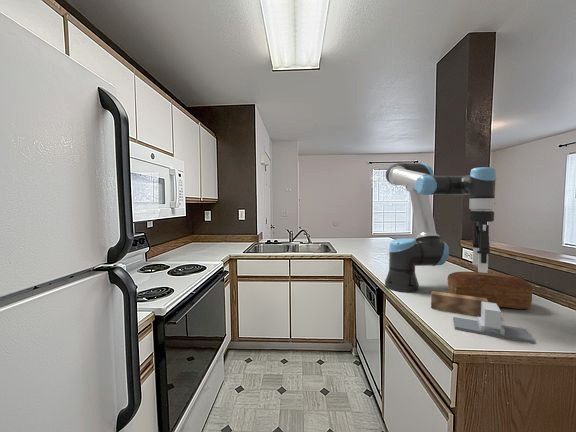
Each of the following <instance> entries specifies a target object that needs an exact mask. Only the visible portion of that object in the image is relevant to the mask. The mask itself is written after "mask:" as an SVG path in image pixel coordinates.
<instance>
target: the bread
mask: <svg viewBox="0 0 576 432" xmlns="http://www.w3.org/2000/svg"><path fill="white" fill-rule="evenodd" d="M446 278H447V293H451V294H458V295H466V296H473V297H481V298H486V299H487V301H488V302H490V303H496V304H497V306H498V307H499V308H509V309H510V308H511V309H516V310H526V309H527V310H528V309H531V305H532V303H533V293H534V292H533V291H534V289H533V287H532V286H531V284H530V283H529V282H527V280H525V279H523V278H521V277H518V276H515V275H511V274H505V273H498V272H489V271H488V273H483V272H478V271H455V272H452V273H449V274H448V275H447V277H446Z"/></svg>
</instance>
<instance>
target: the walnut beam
mask: <svg viewBox="0 0 576 432" xmlns="http://www.w3.org/2000/svg"><path fill="white" fill-rule="evenodd" d="M430 294H431V300H430V309H431V308H432V309H433V310H437V309H438V310H439V311H443V310H444V312H450V313H456V314H457V313H458V314H461V315H462V314H463V315H469V316H470V315H471V316H475V317H481V301H482V302H488V301H487V299H486V298H481V297H473V296H466V295H458V294H451V293H448V292H441V291H434V290H432V291H431V293H430ZM432 309H431V310H432Z"/></svg>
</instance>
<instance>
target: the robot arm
mask: <svg viewBox="0 0 576 432" xmlns="http://www.w3.org/2000/svg"><path fill="white" fill-rule="evenodd" d="M385 179H386V181H387V182H388V183H389V184H391V185H394V186H404V187H405V190H406V191H407V192H409V196H410V202H411V208H412V213H413V220H414V224H415V229H416V230H415V231H416V237H415V238H410V237H409V238H403V237H402V238H396V239H393V240H391V241H390V243H389V249H388V253H389V254H388V255H389V256H388V257H389V258H388V259H389V260H388V261H389V262H388V265H389V267H388V272H387V274H386V278H385V280H384V287H386V288H387V289H389V290H393V291H397V292H402V293H403V292H405V293H412V292H413V293H414V292H418V291H419V289H420V288H419V287H420V285H419V284H420V283H419V280H418V278H417V274H416V267H420V266H423V267H424V266H432V267H436V266H442V265H444V264H445V263H446V262H447V260H448V259H449V253H450V250H449V249H450V248H449V246H448V244H447V243H446V241H444V240H442V237H441V235H439V234H438V233H437V232H436V231H437V230H436V225H435V221H434V220H435V219H434V215H433V209H432V205H431V199H430V196H431V195H432V196H435V195H436V196H437V195H438V196H440V195H441V196H442V195H443V196H451V195H452V196H467V195H469V199H468V200H469V201H468V202H469V204H468V205H469V207H468V209H469V211H468V213H469V214H468V221H470V222H474V223H473V236H472V265H474V266H477V272H483V273H488V272H489V254H490V253H491V250H490V249H491V248H490V231H489V230H490V225H489V224H487V222H489V223H492V222H495V212H494V211H493V210H495V205H497V201H496V200H495V196H496V180H497V177H496V168H494V167H491V166H490V167H489V166H486V167H485V166H484V167H483V166H482V167H474V168H472V169H470V174H467V175H434V171H433V168H432V167H431V166H430V165H429V164H428V163H422V162H416V163H415V162H397V163H394V164H392V165H390V166H389V167H388V168H387V170H386V171H385Z"/></svg>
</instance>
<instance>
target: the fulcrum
mask: <svg viewBox="0 0 576 432" xmlns="http://www.w3.org/2000/svg"><path fill="white" fill-rule="evenodd" d="M476 317H477V318H476V319H469V318H464V317H463V318H462V317H458V316H457V317H456V316H452V320H453V321H452V322H453V327H454V330H457V331H458V330H459V331H463V332H469V333H473V334H479V335H485V336H491V337H496V338H501V339H507V340H513V341H518V342H525V343H529V344H535V343H536V341H535V340H534V338H533V337H532V336H531V334H530V333H529V331H528V329H526V328H524V327H518V326H511V325H506V324H502V311H501V309H500V307H498V306H497V304H496V303H490V302H482V301H481V316H476Z"/></svg>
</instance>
